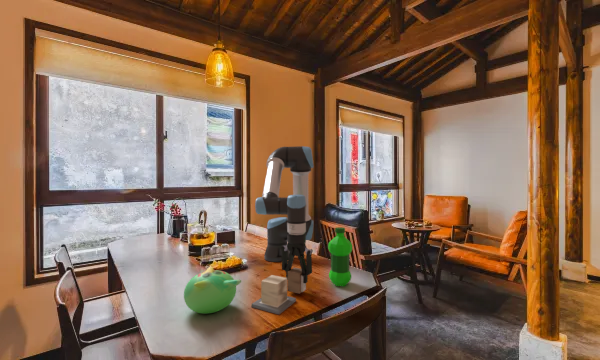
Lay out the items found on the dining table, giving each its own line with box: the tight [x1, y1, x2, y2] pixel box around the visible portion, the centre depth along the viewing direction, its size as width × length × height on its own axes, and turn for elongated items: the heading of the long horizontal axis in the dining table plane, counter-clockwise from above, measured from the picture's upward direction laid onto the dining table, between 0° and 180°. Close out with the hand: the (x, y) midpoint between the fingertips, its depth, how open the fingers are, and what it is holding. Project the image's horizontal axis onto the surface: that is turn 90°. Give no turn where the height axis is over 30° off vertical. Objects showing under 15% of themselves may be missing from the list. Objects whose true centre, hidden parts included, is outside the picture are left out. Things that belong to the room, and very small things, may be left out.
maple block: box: [260, 274, 288, 306], centre depth 108 cm, size 7×7×8 cm
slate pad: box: [251, 295, 297, 315], centre depth 108 cm, size 12×12×1 cm
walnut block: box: [287, 267, 303, 294], centre depth 117 cm, size 6×6×8 cm
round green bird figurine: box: [183, 266, 242, 315], centre depth 103 cm, size 18×17×15 cm
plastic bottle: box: [327, 226, 353, 287], centre depth 127 cm, size 10×10×25 cm
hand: (296, 288), depth 117 cm, fingers closed on walnut block, 5 cm apart
